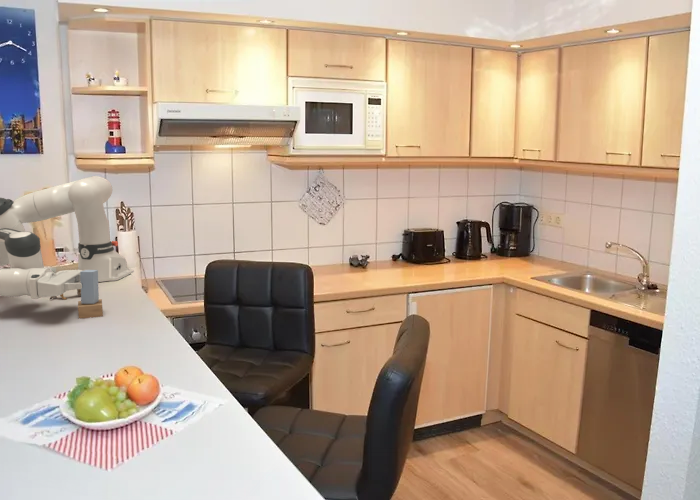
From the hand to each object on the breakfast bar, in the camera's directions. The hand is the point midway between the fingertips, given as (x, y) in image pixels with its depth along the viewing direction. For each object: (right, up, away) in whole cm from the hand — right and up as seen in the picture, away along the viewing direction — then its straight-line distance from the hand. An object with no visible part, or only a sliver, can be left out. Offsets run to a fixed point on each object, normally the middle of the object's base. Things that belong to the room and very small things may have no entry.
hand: (87, 282), depth 205 cm
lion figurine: (-14, -7, +22) cm, 27 cm away
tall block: (0, -7, +2) cm, 7 cm away
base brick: (0, -11, +2) cm, 11 cm away
